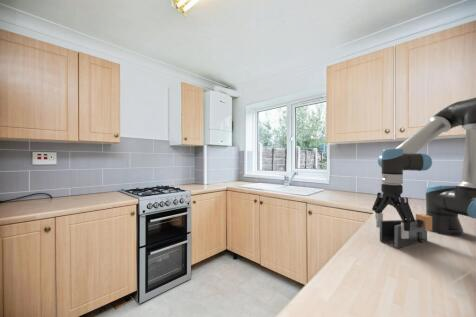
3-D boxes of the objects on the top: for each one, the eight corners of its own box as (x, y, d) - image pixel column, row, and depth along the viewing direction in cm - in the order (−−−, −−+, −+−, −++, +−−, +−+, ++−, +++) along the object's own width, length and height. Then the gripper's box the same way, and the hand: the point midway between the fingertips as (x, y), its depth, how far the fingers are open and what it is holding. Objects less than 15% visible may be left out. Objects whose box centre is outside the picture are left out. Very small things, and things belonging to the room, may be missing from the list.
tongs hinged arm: (414, 240, 92) (414, 221, 92) (417, 241, 91) (417, 221, 91) (394, 246, 86) (394, 225, 86) (397, 248, 85) (397, 226, 85)
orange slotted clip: (422, 227, 95) (422, 213, 95) (432, 230, 91) (432, 216, 91) (415, 227, 95) (415, 214, 95) (425, 230, 90) (425, 216, 90)
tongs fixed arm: (424, 239, 94) (424, 219, 94) (431, 242, 91) (431, 221, 91) (379, 240, 93) (379, 220, 93) (385, 243, 89) (385, 222, 89)
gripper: (364, 180, 104) (363, 223, 104) (409, 187, 79) (408, 244, 79) (378, 180, 104) (377, 223, 104) (427, 187, 79) (427, 243, 79)
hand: (391, 232), depth 92 cm, fingers open, 13 cm apart
